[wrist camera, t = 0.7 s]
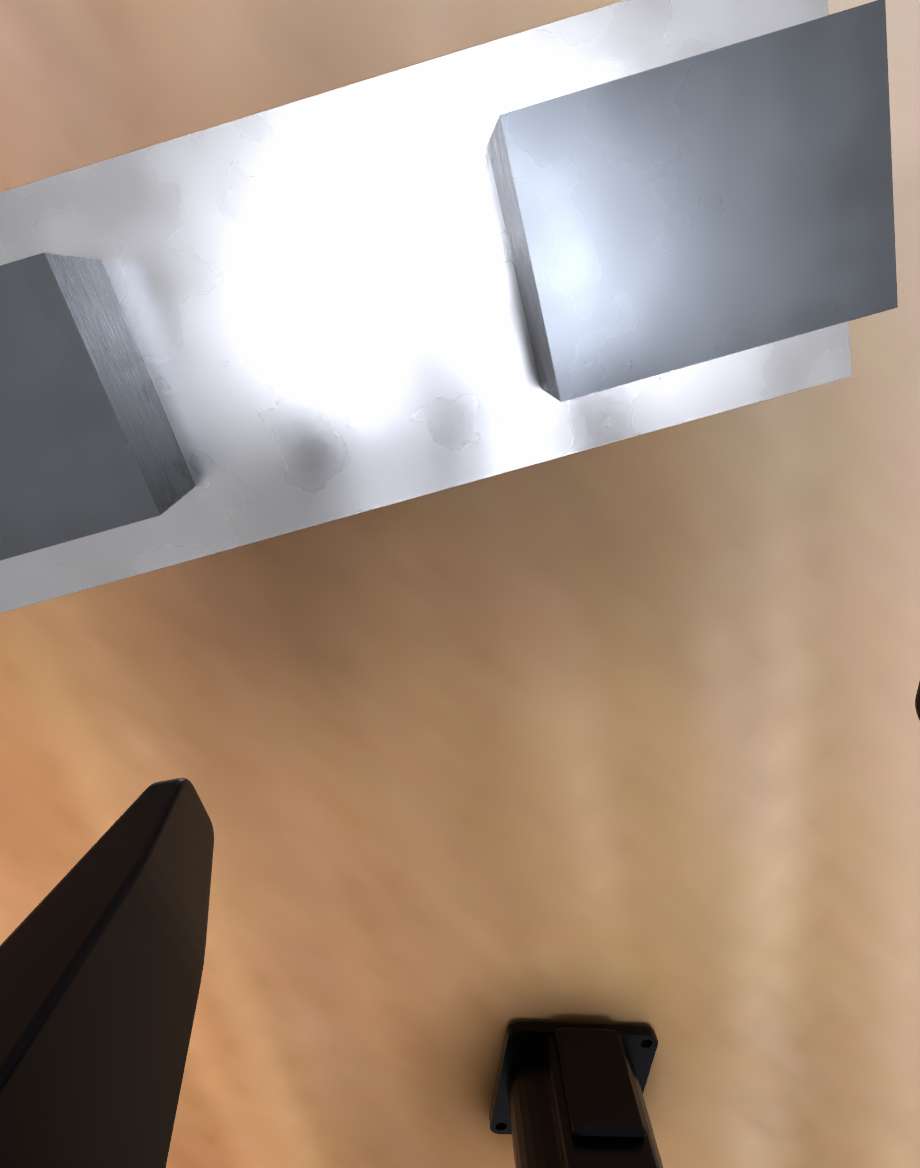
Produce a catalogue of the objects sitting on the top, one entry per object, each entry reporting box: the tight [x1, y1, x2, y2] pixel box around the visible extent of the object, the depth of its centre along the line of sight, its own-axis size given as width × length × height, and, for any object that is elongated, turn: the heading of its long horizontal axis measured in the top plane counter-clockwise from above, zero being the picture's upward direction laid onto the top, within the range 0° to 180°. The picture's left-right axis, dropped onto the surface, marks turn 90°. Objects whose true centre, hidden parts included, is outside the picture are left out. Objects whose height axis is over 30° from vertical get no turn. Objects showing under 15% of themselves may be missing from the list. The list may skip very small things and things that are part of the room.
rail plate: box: [0, 0, 898, 613], centre depth 18 cm, size 10×27×4 cm, turn 105°
